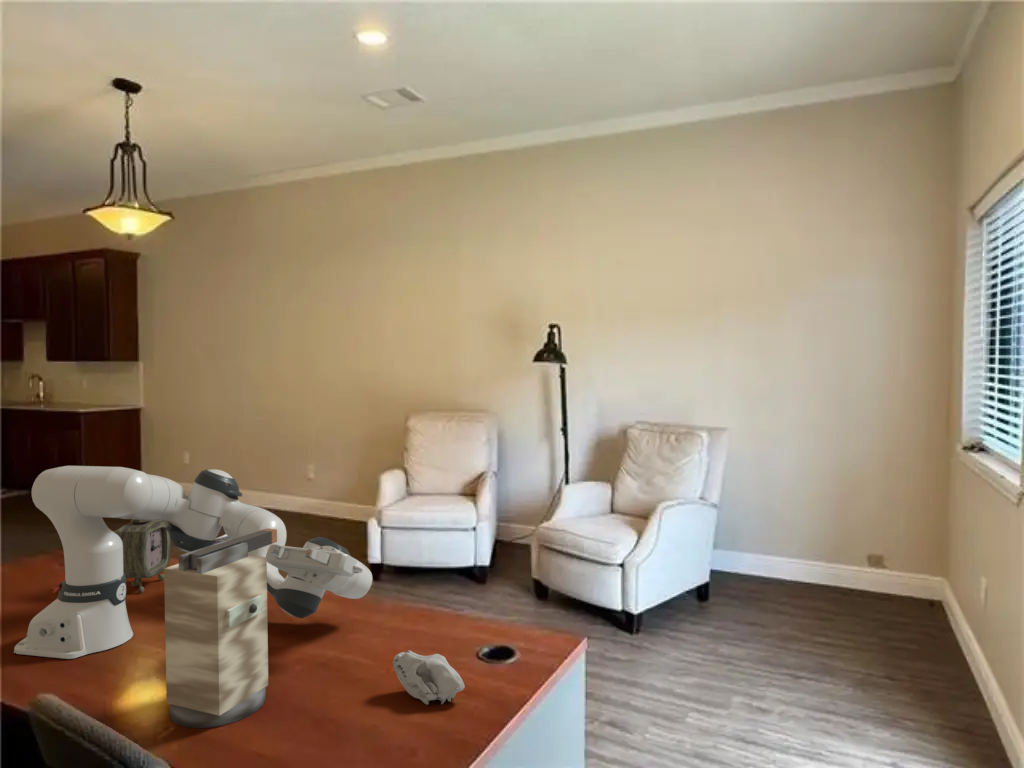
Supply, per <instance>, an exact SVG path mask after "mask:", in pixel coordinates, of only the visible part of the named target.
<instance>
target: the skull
mask: <svg viewBox="0 0 1024 768" xmlns="http://www.w3.org/2000/svg"><path fill="white" fill-rule="evenodd" d="M392 665H393V669H394V671H395V674H396V676H397V678H398V680H399V681H400V683H401V685H402V687H403V688H404V689H405V691H406V692H407V693H408V694H409V695H410V696H412V697H413V698H414V699H417V700H420V701H421V702H422V704H423V703H424V705H427V706H428V705H429V704H430V701H435V700H436V701H437V700H439V701H440V705H443V704H444V703H445V702H446V700H447V702H452V699H454V698H455V696H456V694H457V693H459V692H463V691H464V689H465V688H466V687H465V683H464V681H463V679H462V677H461V676H460V674H459V673H458V672H457V670H456V669H454V668H453V667H452V666H451V664H449V662H448V661H447V659H446V657H445V656H444V655H441V654H439V653H434V654H430V655H421V654H418V653H416V652H413V651H412V650H409V649H408V650H407V651H404V652H403V651H402V652H399V653H397V654H396V655H394V657H393V660H392Z"/></svg>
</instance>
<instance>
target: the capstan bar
mask: <svg viewBox="0 0 1024 768" xmlns="http://www.w3.org/2000/svg"><path fill="white" fill-rule="evenodd" d="M243 542H244V543H248V552H251V551H253V550H256V549H259V548H262V547H264V546H267V545H270V544H273V543H275V542H277V529H269V528H266V529H263V530H260V531H257V532H254V533H251V534H248V535H245V536H242V537H239V538H236V539H233V540H230V541H227V542H224V543H221V544H218V545H215V546H211V547H208V548H205V549H202V550H199V551H196V552H193V553H190V554H189V568H192V569H197V558H199V557H202V556H205V555H208V554H211V553H214V552H217V551H220V550H223V549H225V548H228V547H231V546H234V545H237V544H240V543H243Z"/></svg>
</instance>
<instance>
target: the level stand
mask: <svg viewBox="0 0 1024 768" xmlns="http://www.w3.org/2000/svg"><path fill="white" fill-rule="evenodd" d="M227 541H228V540H226V541H222V542H219V543H216V544H213V545H210V546H207V547H204V548H201V549H198V550H195V551H192V552H189V553H188V552H185V553H183V554H181V555H178V563H176V564H174V565H170V566H167V567H166V568H164V570H163V575H164V579H163V581H164V583H163V584H164V585H163V587H164V592H163V593H164V629H165V630H164V633H165V634H164V635H165V637H164V638H165V641H164V642H165V679H166V680H165V681H166V683H165V685H166V687H165V688H166V690H165V691H166V704H169V716H170V717H169V718H170V720H172V722H173V723H175V724H176V725H179V726H181V727H185V728H191V729H207V728H215V727H216V728H217V727H221V726H225V725H230V724H233V723H235V722H239V721H242V720H243V719H246V718H248V717H250V716H251V715H253V714H255V713H256V712H257V711H259V710H260V709H261V708H262V706H263V705H264V704H265V702H266V700H267V699H266V698H267V697H266V694H267V693H266V690H267V687H268V686H269V643H268V642H269V641H268V639H269V635H268V629H269V628H268V626H269V625H268V591H267V557H260V556H253V555H248V543H244V542H243V543H240V544H237V545H234V546H231V547H228V548H225V549H223V550H220V551H217V552H214V553H211V554H208V555H205V556H202V557H199V558H197V569H192V568H189V554H190V553H193V552H196V551H199V550H202V549H205V548H208V547H211V546H215V545H218V544H221V543H224V542H227Z"/></svg>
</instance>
